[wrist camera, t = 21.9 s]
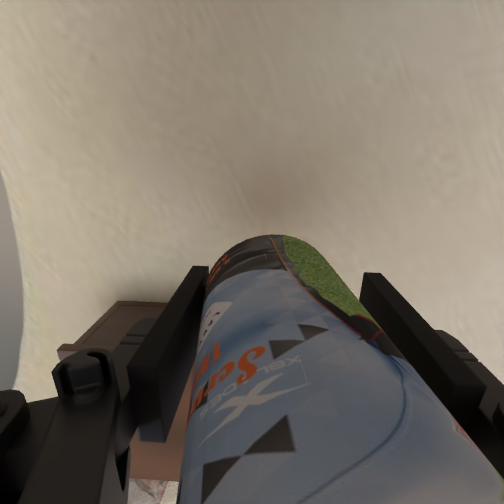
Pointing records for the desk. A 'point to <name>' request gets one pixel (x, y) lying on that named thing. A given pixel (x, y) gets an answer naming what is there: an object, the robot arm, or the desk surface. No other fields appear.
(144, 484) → the geological specimen
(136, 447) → the chest lid
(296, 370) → the beverage can
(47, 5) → the desk surface
